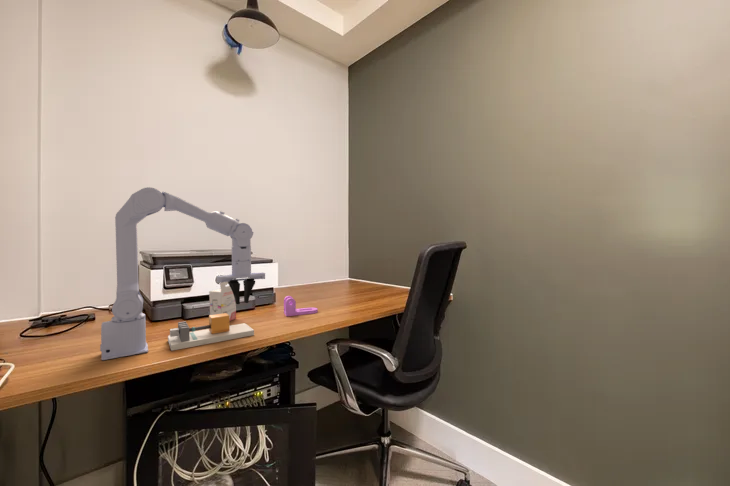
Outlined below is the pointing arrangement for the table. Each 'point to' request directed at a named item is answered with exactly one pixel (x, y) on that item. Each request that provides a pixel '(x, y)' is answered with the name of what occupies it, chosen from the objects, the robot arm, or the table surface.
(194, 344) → the board
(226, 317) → the orange block
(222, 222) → the robot arm
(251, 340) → the table surface
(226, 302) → the ink cartridge box
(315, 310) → the bracket
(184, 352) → the table surface
